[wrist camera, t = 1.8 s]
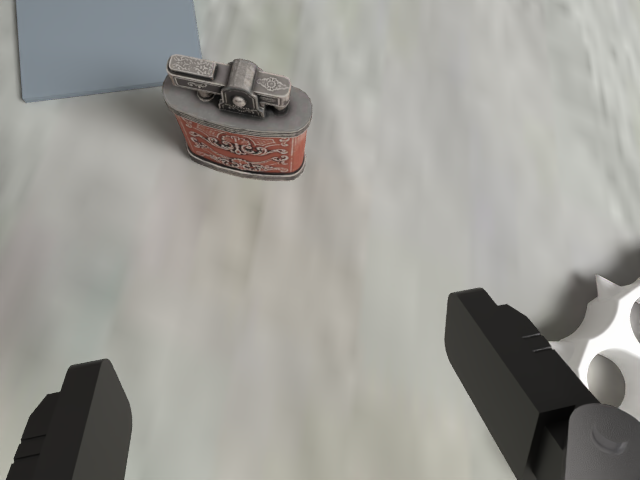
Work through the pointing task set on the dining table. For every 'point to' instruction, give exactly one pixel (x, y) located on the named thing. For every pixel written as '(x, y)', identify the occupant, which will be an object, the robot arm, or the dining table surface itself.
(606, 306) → the white brass knuckles
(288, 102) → the lighter
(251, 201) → the dining table surface
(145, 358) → the dining table surface
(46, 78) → the pad
